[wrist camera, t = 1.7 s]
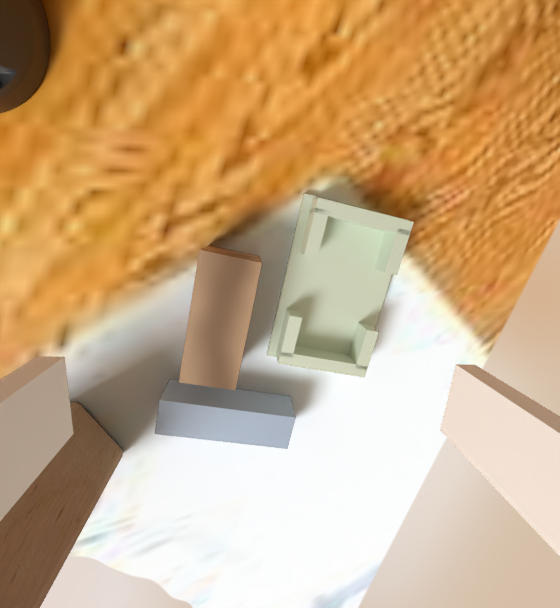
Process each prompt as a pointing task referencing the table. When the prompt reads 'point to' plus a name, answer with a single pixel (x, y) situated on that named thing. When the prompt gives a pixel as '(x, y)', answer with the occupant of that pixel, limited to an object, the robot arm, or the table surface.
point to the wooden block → (54, 512)
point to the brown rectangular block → (219, 317)
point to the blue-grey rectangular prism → (225, 415)
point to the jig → (336, 285)
